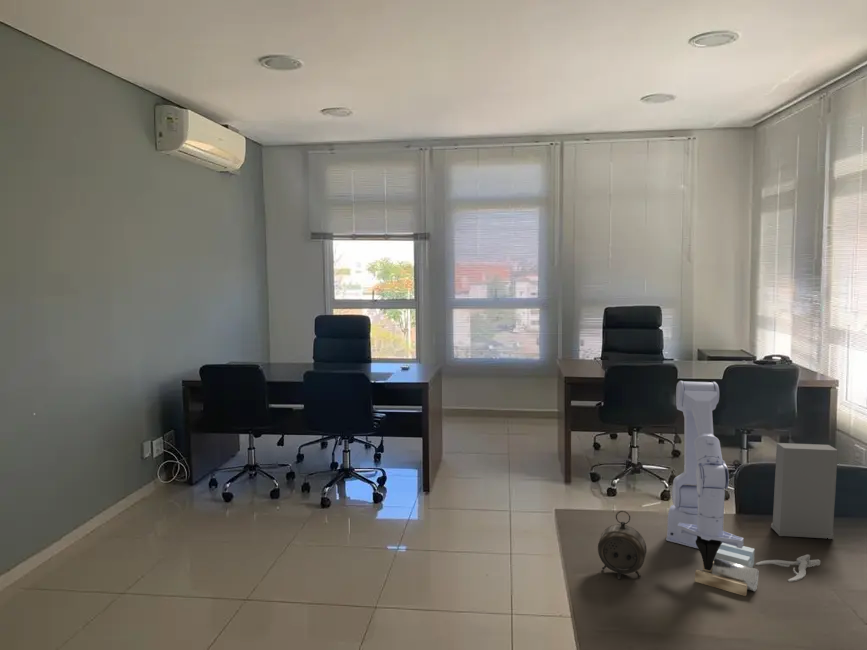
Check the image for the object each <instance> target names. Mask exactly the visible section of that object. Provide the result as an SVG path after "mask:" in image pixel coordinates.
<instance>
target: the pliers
mask: <svg viewBox="0 0 867 650" xmlns="http://www.w3.org/2000/svg"><path fill="white" fill-rule="evenodd" d="M754 565H755V566H757V567H758V566H762V565H775V566H778V567H779V566H780V567H786V568H790V567H791V566H794V565H795V566H798V572H797V571H796V567H792V568H793V569H792V572H793V574H795V576H793V577H791V578H789V579H787V582H789V583H793V582H796V581H797V582H798V581H800V580H802V579H804V578H805V576H806V575H807V571H806V570H807V568H811V567H812V566H813V567H816V566H815V565H817V566H820V565H821V560H820V559H811V554H805V555H802V556H799V557H797V558H796V561H792V560H784V559H783V560H782V559H767V560H761V561H758V562H756V563H754ZM813 567H812V568H813Z"/></svg>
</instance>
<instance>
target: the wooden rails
mask: <svg viewBox="0 0 867 650" xmlns="http://www.w3.org/2000/svg"><path fill="white" fill-rule="evenodd" d="M713 563H714V561H713ZM702 564H703V565H702V567H703V568H702V570H700V569H696V570H695V573H694V574H695V575H694V582H695V583H699V584H702V585H705V586H709V587H713V588H716V589H720V590H723V591H727V592H728V593H732V594H737V595H740V596H742V597H743V596H744V597H746V596H747V594H748V589H747V583H743V582H740V581H736V580H733V579H729V578H725V577H722V576H718V575H715V574H712V569H711V570H706V569H704V563H703V562H702ZM712 568H713V565H712Z"/></svg>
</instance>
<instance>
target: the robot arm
mask: <svg viewBox="0 0 867 650" xmlns="http://www.w3.org/2000/svg"><path fill="white" fill-rule="evenodd" d="M675 388H676V390H675V396H676V397H675V401H676V402H675V405H676V410H678V411H680V412H682V413H683V417H684V433H683V434H684V435H683V437H684V440H683V442H684V443H683V444H684V445H683V448H684V449H683V450H684V451H683V453H684V455H683V456H684V457H683V459H684V460H683V463H684V464H683V465H684V466H683V467H684V468H683V469H684V470H683V472H682V473H680V474H679V475H677V476H676V477H674V478H673V481H672V488H671V489H672V490H671V499H672V504H671V505H670V507H669V510H668V514H667V527H666V529H667V530H666V532H667V533H666V539H665V540H666V541H668V542H669V543H670V542H671V543H675V544H680V545H682V546H687V547H690V548H695V549H698V551H699V553H700V555H701V559H702V564H703V563H704V569H706V570H711V569H712V565H713V561H714V558H715V556H716V553H717V551H718V549H719V547H720V546H721V544H722V543H725V544H729V545H733V546H737V548H741V549H742V547H743V546H744V537H742V536H737V535H735V534H733V533H730V532H727V531H725V530H724V521H725V520H724V516H725V515H724V514H725V495H726V490H727V489H728V488H729V484H730V483H729V482H730V474H729V469H728V466H727V464H726V460H723V455H722V454H723V453H722V449H721V447H722V446H721V442H720V441H721V440H719V438H718V437H716V436H715V434H714V422H713V421H714V420H713V411H714V410H716V408H717V405H718V404H719V400H720V387H719V384H718V383H717V382H716V381H711V382H710V381H684V380H679V381H678V382H677V383H676V387H675Z"/></svg>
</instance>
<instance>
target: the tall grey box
mask: <svg viewBox="0 0 867 650" xmlns="http://www.w3.org/2000/svg"><path fill="white" fill-rule="evenodd" d="M838 451H839V450H838V449H837V448H835V447H833V446H831V444H817V443H816V444H814V443H813V444H812V443H793V442H792V443H789V442H788V443H787V442H786V443H785V442H776V451H775V452H776V454H775V468H774V469H775V471H774V472H775V474H774V490H773V491H774V494H773V495H774V496H773V512H772V522H771V523H770V527H771V529H772V530H773V531H774V532H775V533H776V534H777V535H778V536H779V537H797V538H798V537H799V538H816V539H827V538H828V539H827V540H831V539H832V540H833V539H834V535H835V534H834V518H835V506H836V504H835V503H836V502H835V501H836V490H837V489H836V485H837V471H838V470H837V469H838V468H837V467H838V454H839V452H838Z"/></svg>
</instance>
